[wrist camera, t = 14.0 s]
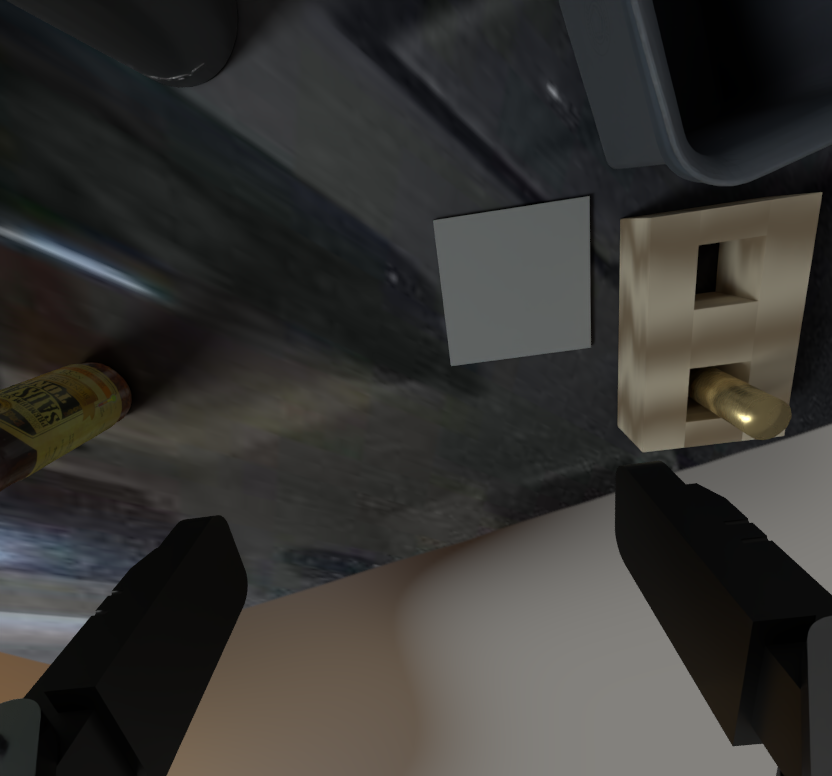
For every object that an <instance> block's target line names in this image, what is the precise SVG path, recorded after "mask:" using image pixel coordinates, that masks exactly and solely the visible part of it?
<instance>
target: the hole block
mask: <svg viewBox="0 0 832 776" xmlns="http://www.w3.org/2000/svg"><path fill="white" fill-rule="evenodd" d="M821 198H822V192H818V193H806V194H794V195H782V196H770V197H762V198H756V199H749V200H742V201H736V202H729V203H723V204H716V205H709V206H703V207H696V208H690V209H683V210H676V211H670V212H663V213H656V214H650V215H643V216H637V217H630V218H623V219H620V288H619V361H618V427H619V428H620V429H621V430H622V431H623V432H624V433H625V434H626V435H627V436H628V437H629V438H630V439H631V440H632V441H633V443H634V444H635V445H636V446H637V447H638V448H639V449H640V450H641V451H642V452H650V451H659V450H667V449H676V448H684V447H693V446H701V445H710V444H718V443H727V442H736V441H744V440H753V439H754V438H752V437H750V436H749V435H747V434H745V433H744V432H742V431H741V430H739V429H738V428H736V427H735V426H733V425H732V424H730V423H728V422H727V421H725V420H724V419H722V418H721V417H719V416H718V415H716V414H715V413H713V412H712V411H710V410H708V409H707V408H705V407H704V406H702V405H701V404H699V403H698V402H696V401H695V400H693V399H691V398H690V397H688V386H689V372H690V369H692V368H700V367H708V366H713V367H715V368H717V369H719V370H721V371H723V372H725V373H727V374H729V375H731V376H734V377H736V378H738V379H740V380H742V381H744V382H746V383H748V384H750V385H752V386H754V387H756V388H758V389H760V390H762V391H764V392H766V393H768V394H770V395H772V396H774V397H776V398H778V399H780V400H783V401H784V402H786V403H787V404H788V405H789V401H790V395H791V388H792V382H793V376H794V369H795V363H796V357H797V350H798V344H799V338H800V331H801V325H802V319H803V312H804V306H805V300H806V293H807V287H808V281H809V274H810V268H811V262H812V255H813V249H814V243H815V236H816V230H817V224H818V217H819V211H820V205H821ZM718 242H720V244H719V255H718V267H717V278H716V290H715V292H707V293H700V294H695V289H696V275H697V261H698V247H699V245H704V244H711V243H718ZM784 432H785V429H784V430H783V431H782V432H781V433H780V434H778V435H777V436H775V437H778V436H784Z"/></svg>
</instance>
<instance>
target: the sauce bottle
mask: <svg viewBox="0 0 832 776" xmlns="http://www.w3.org/2000/svg"><path fill="white" fill-rule="evenodd" d="M131 402H132V398H131V390H130V388H129V386H128V385H127V383H126V381H125V380H124V379H123V378H122V377H121V376H120V375H119V374H118V373H117V372H116V371H115V370H113V369H111V368H110V367H109V366H105V365H104V364H102V363H79V364H73V365H69V366H66V367H63V368H60V369H57V370H54V371H52V372H49V373H46V374H43V375H41V376H38V377H35V378H33V379H30V380H27V381H25V382H21V383H19V384H15V385H12V386H10V387H8V388H5V389H2V390H0V491H2V490H3V489H5V488H6V487H8V486H10V485H11V484H13V483H15V482H17V481H20V480H22V479H24V478H26V477H28V476H29V475H31V474H33V473H35V472H36V471H38V470H40V469H41V468H43V467H45V466H46V465H48V464H50V463H51V462H53V461H55V460H56V459H58V458H60V457H61V456H63V455H65V454H66V453H68V452H70V451H72V450H73V449H75V448H77V447H78V446H80V445H82V444H83V443H85V442H87V441H88V440H90V439H92V438H94V437H95V436H97V435H99V434H100V433H102V432H103V431H105V430H107V429H109V428H110V427H112V426H113V425H114V424H115V423H116V422H118V421H120V420H121V419H122V418H124V416H125V415H126V414H127V413H128V411H129V409H130V407H131Z"/></svg>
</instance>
